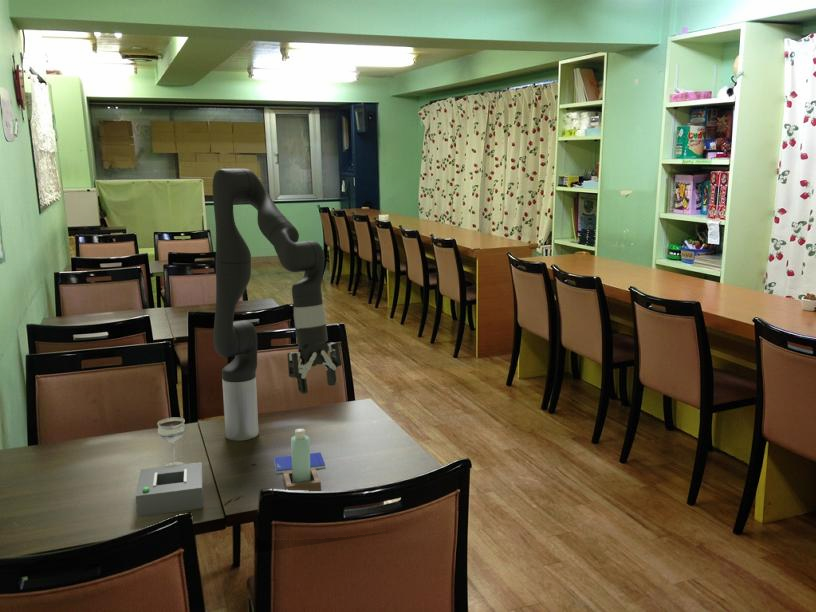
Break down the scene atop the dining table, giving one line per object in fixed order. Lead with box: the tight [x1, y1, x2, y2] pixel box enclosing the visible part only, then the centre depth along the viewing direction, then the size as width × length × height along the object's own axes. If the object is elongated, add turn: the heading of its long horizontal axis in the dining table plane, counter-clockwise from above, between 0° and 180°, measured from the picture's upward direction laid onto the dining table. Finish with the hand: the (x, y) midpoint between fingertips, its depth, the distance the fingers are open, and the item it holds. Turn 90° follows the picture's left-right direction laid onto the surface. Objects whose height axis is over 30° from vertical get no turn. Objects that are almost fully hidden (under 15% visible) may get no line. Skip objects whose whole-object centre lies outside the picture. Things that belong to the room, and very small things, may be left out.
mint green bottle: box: [290, 428, 312, 484], centre depth 165 cm, size 4×4×14 cm
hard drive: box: [273, 451, 326, 474], centre depth 178 cm, size 2×8×12 cm
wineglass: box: [157, 417, 186, 466], centre depth 176 cm, size 7×7×12 cm
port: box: [135, 461, 204, 518], centre depth 160 cm, size 14×14×6 cm
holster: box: [282, 468, 322, 492], centre depth 167 cm, size 8×8×2 cm
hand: (318, 389), depth 168 cm, fingers open, 8 cm apart
